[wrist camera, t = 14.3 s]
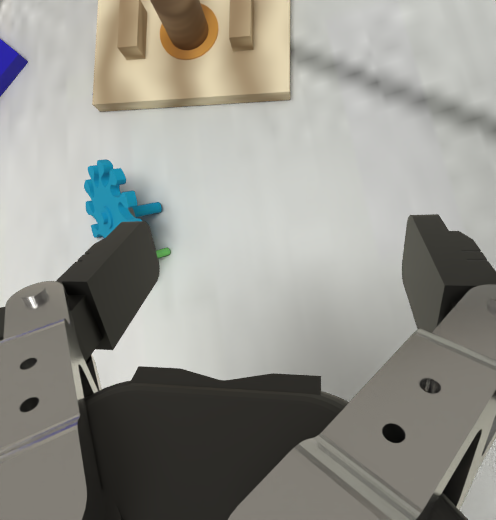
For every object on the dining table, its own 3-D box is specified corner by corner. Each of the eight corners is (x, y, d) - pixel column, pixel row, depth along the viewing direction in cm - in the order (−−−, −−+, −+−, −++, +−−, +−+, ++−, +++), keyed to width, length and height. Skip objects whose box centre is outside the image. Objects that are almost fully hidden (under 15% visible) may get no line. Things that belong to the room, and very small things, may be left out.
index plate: (290, -32, 39) (288, -64, 36) (290, 99, 38) (288, 79, 34) (106, -11, 42) (89, -39, 38) (100, 111, 40) (81, 94, 37)
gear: (69, 186, 38) (98, 140, 31) (124, 179, 42) (162, 136, 34) (107, 290, 38) (145, 270, 30) (159, 273, 42) (204, 252, 34)
